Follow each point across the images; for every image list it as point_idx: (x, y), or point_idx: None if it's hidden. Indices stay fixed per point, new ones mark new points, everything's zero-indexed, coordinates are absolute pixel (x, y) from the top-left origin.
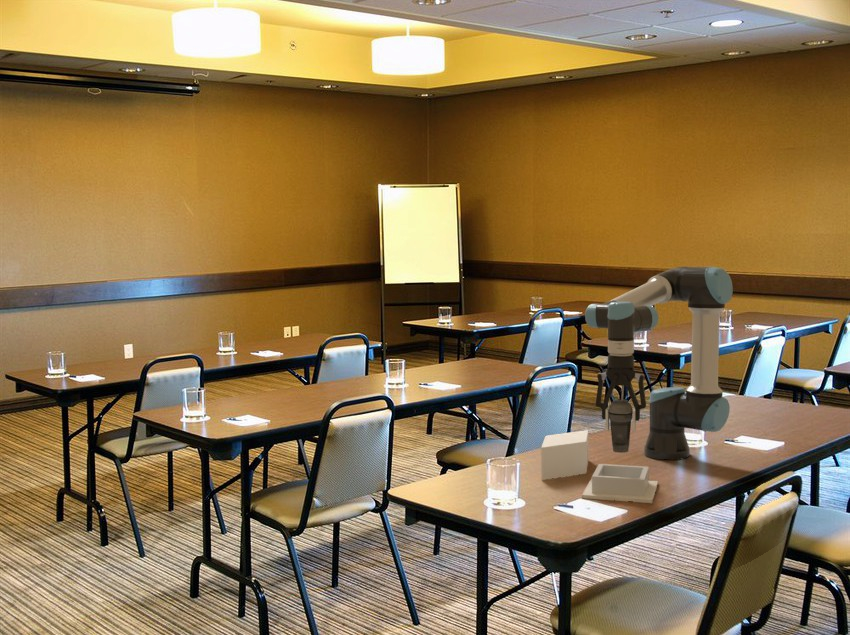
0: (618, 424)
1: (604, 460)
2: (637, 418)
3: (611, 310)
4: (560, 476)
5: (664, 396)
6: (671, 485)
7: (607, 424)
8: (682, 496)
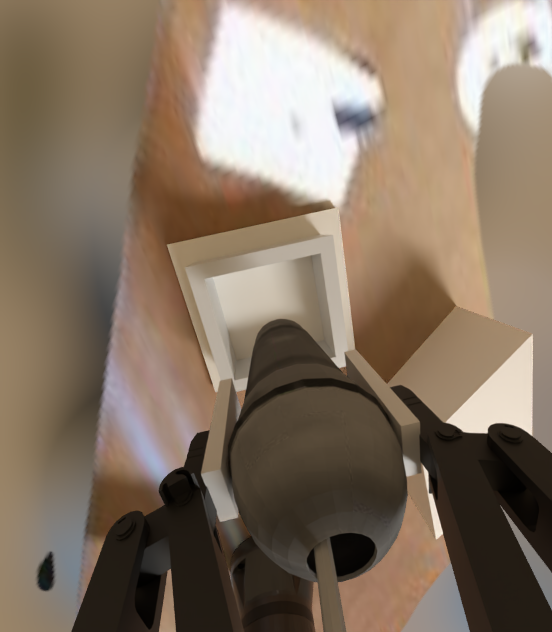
0: (294, 358)
1: None
2: (201, 442)
3: None
4: (423, 345)
5: None
6: (188, 394)
7: (359, 367)
8: (132, 330)
